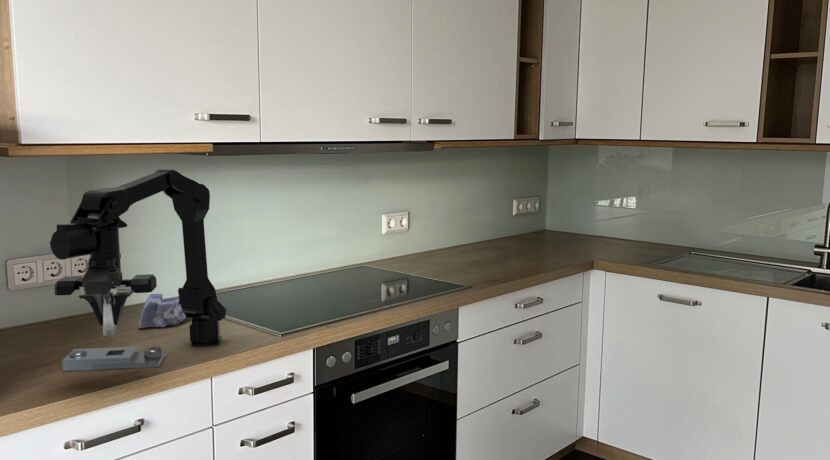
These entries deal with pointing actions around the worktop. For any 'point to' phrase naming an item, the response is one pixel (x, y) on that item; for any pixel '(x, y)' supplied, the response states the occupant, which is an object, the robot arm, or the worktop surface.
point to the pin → (108, 314)
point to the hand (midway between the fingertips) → (109, 324)
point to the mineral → (161, 312)
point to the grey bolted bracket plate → (112, 358)
